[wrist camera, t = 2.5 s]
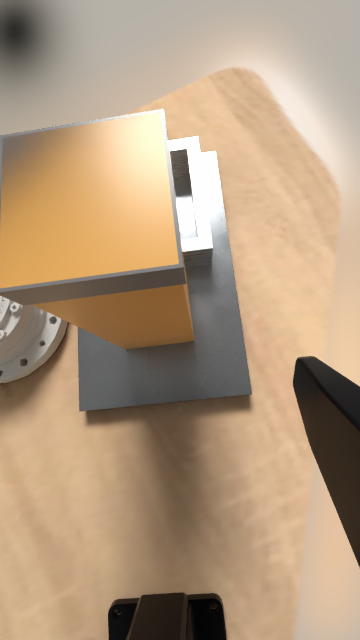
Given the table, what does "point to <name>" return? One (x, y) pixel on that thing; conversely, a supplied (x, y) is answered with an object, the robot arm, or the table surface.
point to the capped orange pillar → (96, 228)
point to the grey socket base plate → (205, 303)
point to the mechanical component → (26, 338)
